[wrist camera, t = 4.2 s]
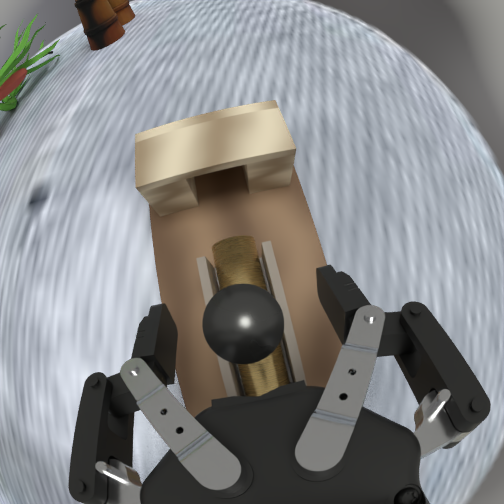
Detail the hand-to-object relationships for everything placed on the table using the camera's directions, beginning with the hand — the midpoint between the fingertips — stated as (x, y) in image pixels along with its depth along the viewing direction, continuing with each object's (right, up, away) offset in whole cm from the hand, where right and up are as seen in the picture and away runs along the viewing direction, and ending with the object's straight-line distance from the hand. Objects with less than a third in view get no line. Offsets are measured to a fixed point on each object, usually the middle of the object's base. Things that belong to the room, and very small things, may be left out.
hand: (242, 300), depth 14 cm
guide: (0, -1, +9) cm, 9 cm away
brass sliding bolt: (+1, -5, +6) cm, 8 cm away
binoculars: (-31, +52, +25) cm, 66 cm away
